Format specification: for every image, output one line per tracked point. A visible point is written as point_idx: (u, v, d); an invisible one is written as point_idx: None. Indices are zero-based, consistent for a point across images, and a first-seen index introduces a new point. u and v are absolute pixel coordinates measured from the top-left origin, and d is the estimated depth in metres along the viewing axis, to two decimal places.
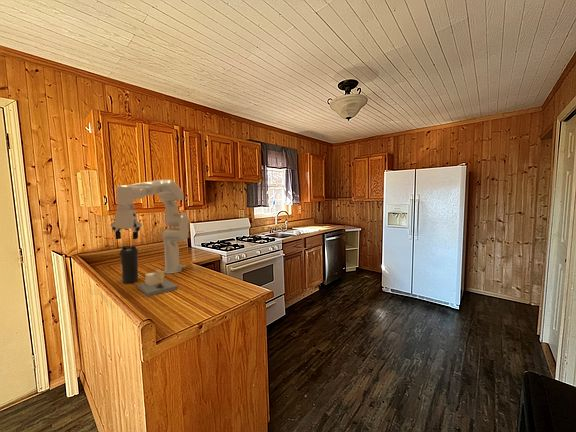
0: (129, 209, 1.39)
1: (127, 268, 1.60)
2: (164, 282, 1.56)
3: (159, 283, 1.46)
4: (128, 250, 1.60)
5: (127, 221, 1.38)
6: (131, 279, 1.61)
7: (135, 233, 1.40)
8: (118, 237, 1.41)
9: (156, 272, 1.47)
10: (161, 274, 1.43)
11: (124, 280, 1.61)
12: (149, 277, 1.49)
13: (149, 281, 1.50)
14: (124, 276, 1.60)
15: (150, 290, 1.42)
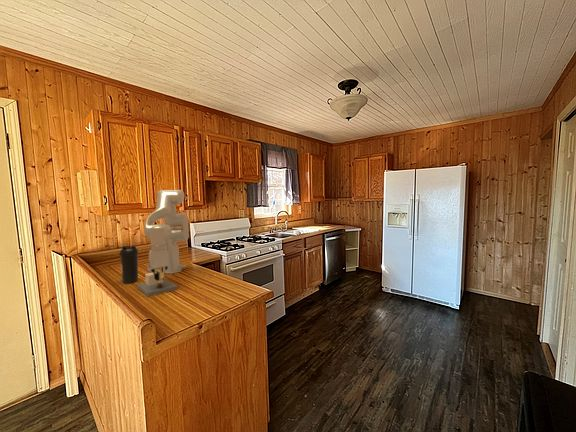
0: (165, 248, 1.47)
1: (127, 268, 1.60)
2: (164, 282, 1.56)
3: (159, 283, 1.46)
4: (128, 250, 1.60)
5: (164, 260, 1.46)
6: (131, 279, 1.61)
7: (164, 273, 1.48)
8: None
9: None
10: (161, 274, 1.43)
11: (124, 280, 1.61)
12: (149, 277, 1.49)
13: (149, 281, 1.50)
14: (124, 276, 1.60)
15: (150, 290, 1.42)
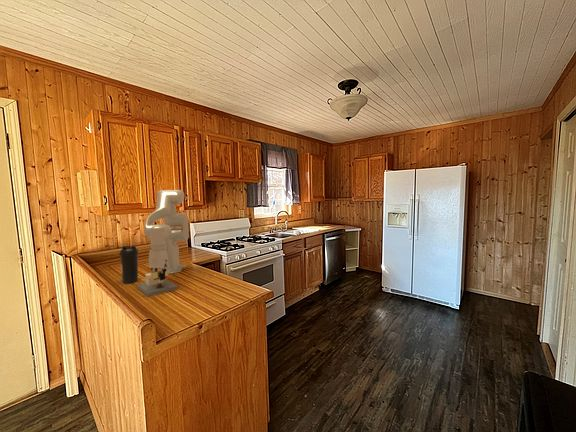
0: None
1: (127, 268, 1.60)
2: (164, 282, 1.56)
3: (161, 282, 1.47)
4: (128, 250, 1.60)
5: None
6: (131, 279, 1.61)
7: None
8: None
9: (158, 273, 1.45)
10: None
11: (124, 280, 1.61)
12: None
13: (149, 281, 1.50)
14: (124, 276, 1.60)
15: (150, 290, 1.42)
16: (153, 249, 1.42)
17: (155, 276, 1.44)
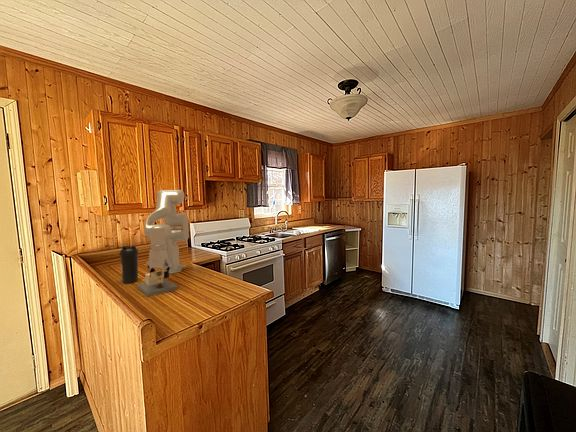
0: None
1: (127, 268, 1.60)
2: (164, 282, 1.56)
3: (161, 282, 1.47)
4: (128, 250, 1.60)
5: None
6: (131, 279, 1.61)
7: None
8: None
9: (158, 273, 1.45)
10: None
11: (124, 280, 1.61)
12: None
13: (149, 281, 1.50)
14: (124, 276, 1.60)
15: (150, 290, 1.42)
16: (153, 249, 1.42)
17: (156, 276, 1.44)
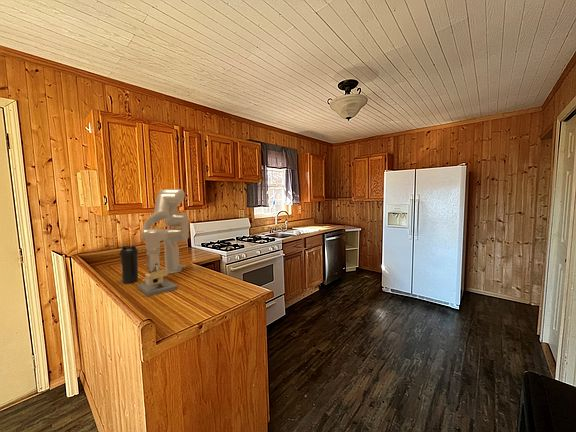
0: None
1: (127, 268, 1.60)
2: (164, 282, 1.56)
3: (161, 282, 1.47)
4: (128, 250, 1.60)
5: None
6: (131, 279, 1.61)
7: None
8: None
9: (158, 273, 1.45)
10: None
11: (124, 280, 1.61)
12: None
13: (149, 281, 1.50)
14: (124, 276, 1.60)
15: (150, 290, 1.42)
16: (146, 252, 1.51)
17: (156, 276, 1.44)
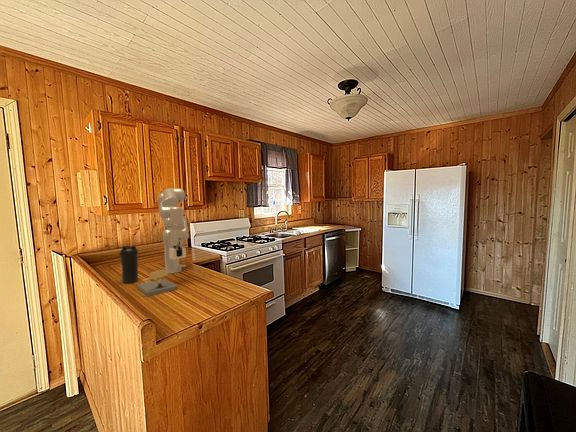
0: None
1: (127, 268, 1.60)
2: (164, 282, 1.56)
3: (161, 282, 1.47)
4: (128, 250, 1.60)
5: None
6: (131, 279, 1.61)
7: None
8: None
9: (158, 273, 1.45)
10: None
11: (124, 280, 1.61)
12: (173, 251, 1.56)
13: (173, 255, 1.56)
14: (124, 276, 1.60)
15: (150, 290, 1.42)
16: (170, 227, 1.57)
17: (156, 276, 1.44)
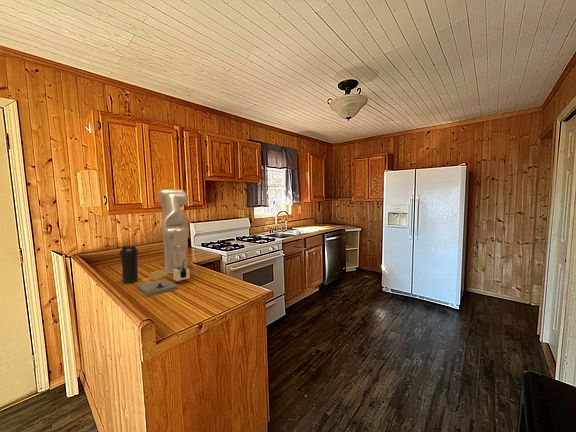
0: None
1: (127, 268, 1.60)
2: (164, 282, 1.56)
3: (161, 282, 1.47)
4: (128, 250, 1.60)
5: None
6: (131, 279, 1.61)
7: None
8: None
9: (158, 273, 1.45)
10: None
11: (124, 280, 1.61)
12: (177, 272, 1.58)
13: (177, 276, 1.58)
14: (124, 276, 1.60)
15: (150, 290, 1.42)
16: (174, 249, 1.59)
17: (156, 276, 1.44)
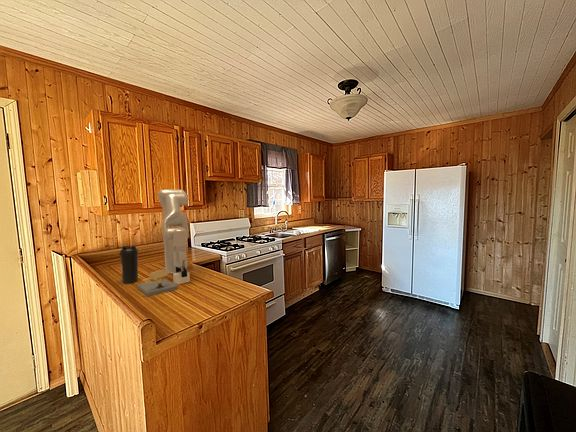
0: None
1: (127, 268, 1.60)
2: (164, 282, 1.56)
3: (161, 282, 1.47)
4: (128, 250, 1.60)
5: None
6: (131, 279, 1.61)
7: None
8: None
9: (158, 273, 1.45)
10: None
11: (124, 280, 1.61)
12: (177, 276, 1.58)
13: (177, 280, 1.58)
14: (124, 276, 1.60)
15: (150, 290, 1.42)
16: (174, 249, 1.59)
17: (156, 276, 1.44)
